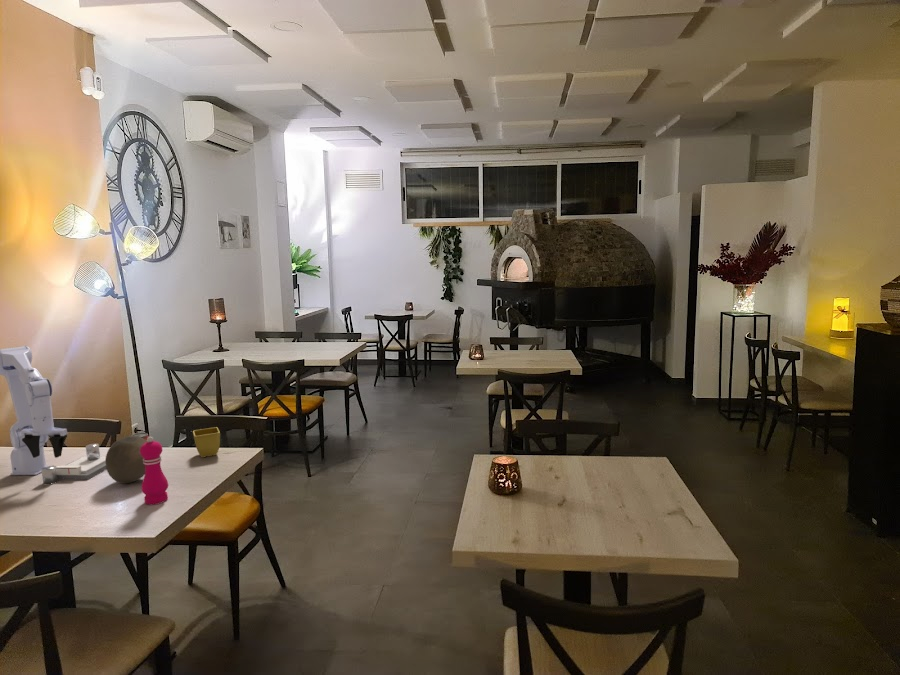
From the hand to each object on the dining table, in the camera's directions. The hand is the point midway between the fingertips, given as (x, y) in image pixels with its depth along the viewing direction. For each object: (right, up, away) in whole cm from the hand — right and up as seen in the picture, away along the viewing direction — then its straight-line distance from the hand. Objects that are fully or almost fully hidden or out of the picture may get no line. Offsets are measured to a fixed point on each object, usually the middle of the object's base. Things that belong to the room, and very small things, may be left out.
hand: (47, 456), depth 196 cm
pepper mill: (+44, -10, -16) cm, 48 cm away
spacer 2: (+5, -4, +17) cm, 18 cm away
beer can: (+25, -7, +12) cm, 29 cm away
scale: (+5, -7, +12) cm, 15 cm away
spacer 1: (0, -9, +1) cm, 9 cm away
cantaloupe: (+28, -8, 0) cm, 29 cm away
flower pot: (+43, -4, +25) cm, 50 cm away
